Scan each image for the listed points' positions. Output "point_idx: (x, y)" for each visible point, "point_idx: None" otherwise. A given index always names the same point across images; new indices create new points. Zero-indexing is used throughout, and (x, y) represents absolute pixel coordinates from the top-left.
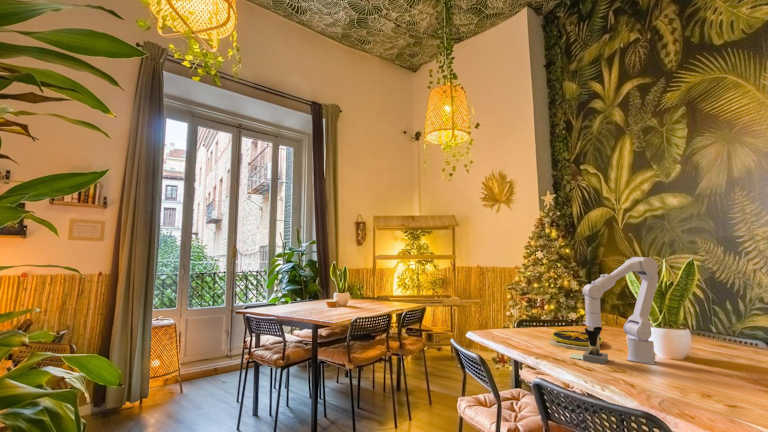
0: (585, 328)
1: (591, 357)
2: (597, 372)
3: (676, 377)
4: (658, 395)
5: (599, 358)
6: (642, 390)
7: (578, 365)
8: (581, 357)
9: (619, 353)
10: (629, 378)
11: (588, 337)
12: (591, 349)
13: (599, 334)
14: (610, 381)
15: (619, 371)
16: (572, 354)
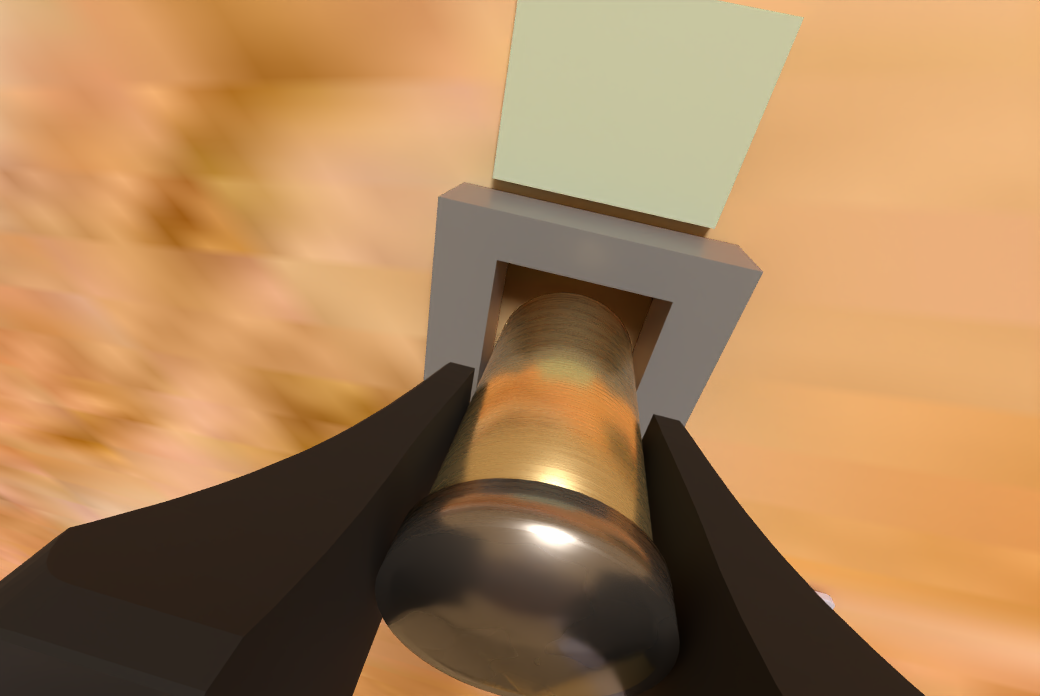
0: (97, 678)
1: (435, 293)
2: (154, 289)
3: (398, 639)
4: (43, 500)
5: (427, 369)
6: (44, 462)
7: (237, 119)
8: (587, 167)
9: (968, 566)
10: (197, 457)
11: (333, 440)
12: (497, 344)
13: (494, 693)
14: (29, 345)
15: (311, 439)
16: (737, 15)
